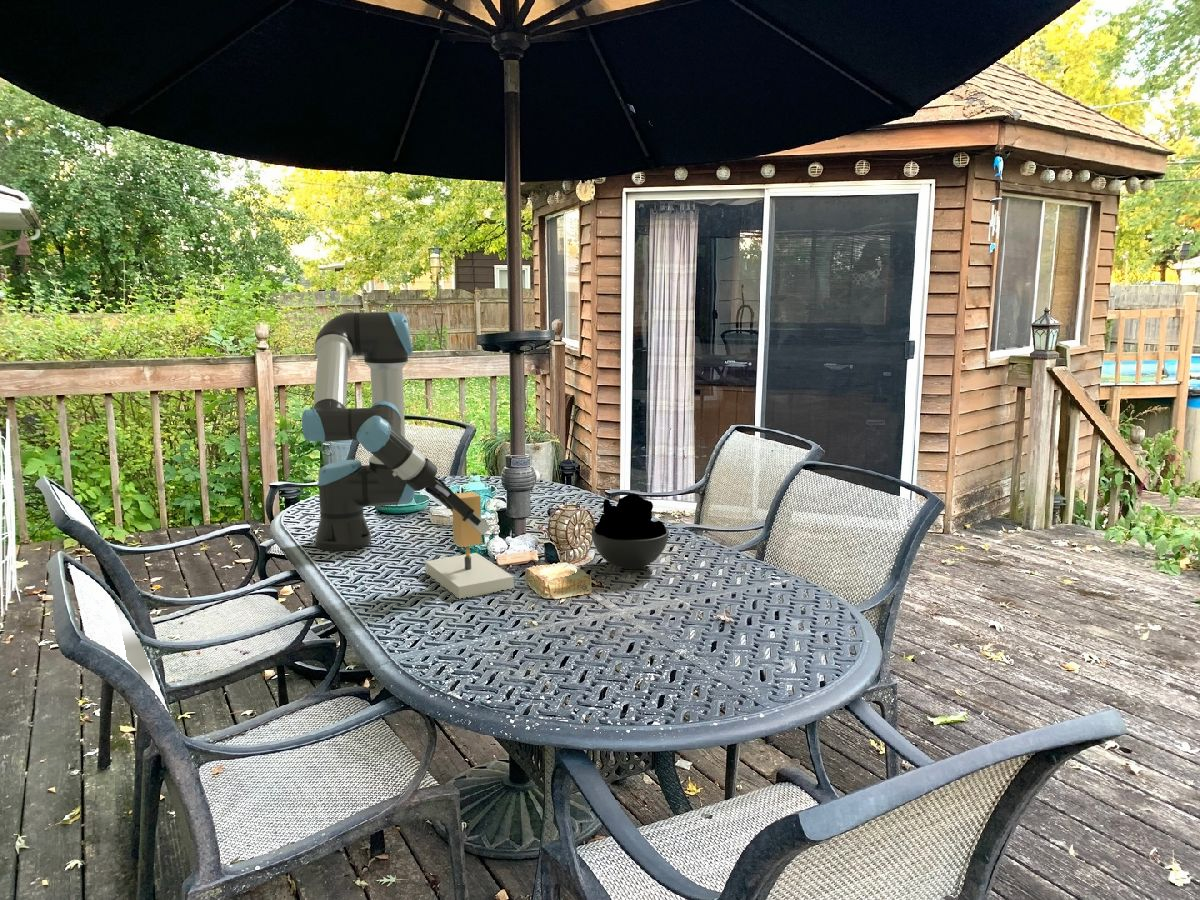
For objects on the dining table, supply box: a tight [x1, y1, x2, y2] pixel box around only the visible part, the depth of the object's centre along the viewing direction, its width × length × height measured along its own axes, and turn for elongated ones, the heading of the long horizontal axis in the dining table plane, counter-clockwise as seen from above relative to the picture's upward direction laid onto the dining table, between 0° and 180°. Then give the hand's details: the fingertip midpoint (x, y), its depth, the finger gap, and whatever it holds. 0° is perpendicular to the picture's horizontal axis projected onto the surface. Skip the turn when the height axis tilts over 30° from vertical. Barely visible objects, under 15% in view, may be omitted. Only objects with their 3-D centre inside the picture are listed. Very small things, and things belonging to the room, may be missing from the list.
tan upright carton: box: [452, 491, 483, 548], centre depth 201 cm, size 5×5×12 cm
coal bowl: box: [591, 493, 670, 570], centre depth 213 cm, size 20×20×19 cm
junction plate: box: [424, 546, 515, 600], centre depth 203 cm, size 22×14×8 cm, turn 32°
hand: (481, 527), depth 203 cm, fingers closed on tan upright carton, 5 cm apart
